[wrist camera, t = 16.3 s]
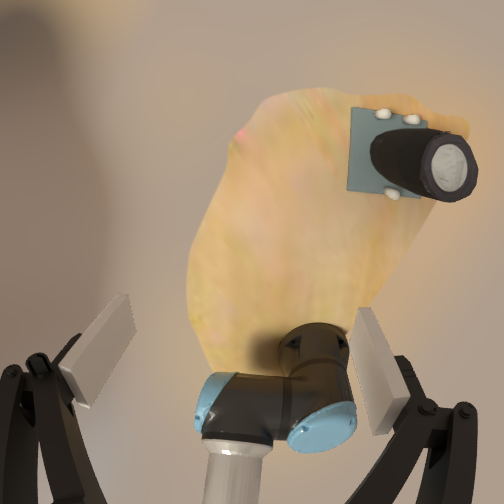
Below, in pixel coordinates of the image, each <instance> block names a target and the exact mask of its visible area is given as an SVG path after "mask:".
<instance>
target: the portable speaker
mask: <svg viewBox="0 0 504 504" xmlns="http://www.w3.org/2000/svg"><path fill="white" fill-rule="evenodd" d="M370 156H371V157H370V159H371V162H372V165H373V166H374V168H375V169H376V170H377V172H378V173H379V174H381V175H382V176H383V177H384V178H385V179H387V180H388V181H389V182H391V183H393V184H395V185H397V186H400V187H402V188H404V189H406V190H408V191H410V192H412V193H414V194H416V195H420V196H424V197H428V198H432V199H435V200H439V201H443V202H456V201H458V200H461V199H463V198H465V197H467V196H469V195H470V194H471V193H472V191H473V189H474V188H475V186H476V183H477V177H478V167H477V163H476V161H475V158H474V155H473V153H472V151H471V148H470V146H469V145H468V144H467V142H466V141H465V140H464V139H463V137H462V136H460V135H454V134H450V133H447V131H446V132H442V131H439V130H435V129H428V128H404V129H397V130H391V131H386V132H384V133H382V134H379V135H377V136H376V137H375V138H374V140H373V141H372V143H371V145H370Z"/></svg>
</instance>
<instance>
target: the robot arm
mask: <svg viewBox="0 0 504 504" xmlns="http://www.w3.org/2000/svg"><path fill="white" fill-rule="evenodd" d="M135 333H136V327H135V323H134V319H133V314H132V310H131V305H130V300H129V296H128V294H121V293H117V294H116V295H115V296H114V298H113V299H112V300H111V301H110V302H109V303H108V304H107V306H106V307H105V308H104V309H103V310H102V312H101V313H100V314H99V315H98V317H96V319H95V320H94V321H93V322H92V324H91V325H90V326H89V327H88V328H87V329H86V331H85V332H84V333H83V334H80V333H78V334H77V335H75V336H74V337H72V338H71V339H70V340H69V342H68V343H67V345H65V347H64V348H63V350H61V352H60V353H59V354H58V355H57V356H56V358H55V359H54V360H53V361H52V363H50V361H49V359H48V357H47V355H46V354H44V353H35V354H33V355H31V356H30V357H28V359H27V360H26V363H25V364H26V367H27V369H28V370H29V372H30V373H27V372H23V370H22V369H21V367H20V366H19V365H15V364H13V365H10V366H8V367H6V369H4V371H3V373H2V376H1V379H0V504H38V489H37V466H38V443H39V442H40V447H41V452H42V457H43V461H44V466H45V470H46V474H47V478H48V482H49V485H50V489H51V493H52V496H53V500H54V501H53V503H52V504H107V502H106V500H105V497H104V495H103V493H102V491H101V488H100V486H99V483H98V481H97V478H96V476H95V473H94V471H93V468H92V465H91V463H90V460H89V457H88V454H87V451H86V448H85V445H84V442H83V439H82V435H81V432H80V429H79V425H78V421H77V418H76V414H75V410H74V406H73V404H72V402H71V401H72V400H73V398H74V397H75V399H76V401H77V403H78V404H79V405H81V406H85V407H87V408H91V407H92V405H93V403H94V402H95V400H96V398H97V396H98V395H99V393H100V391H101V389H102V388H103V386H104V384H105V383H106V381H107V379H108V378H109V376H110V374H111V372H112V371H113V369H114V367H115V366H116V364H117V362H118V361H119V359H120V358H121V356H122V354H123V353H124V351H125V349H126V348H127V346H128V345H129V343H130V341H131V340H132V338H133V336H134V335H135ZM349 348H350V351H351V355H352V358H353V362H354V365H355V369H356V372H357V376H358V379H359V383H360V387H361V390H362V394H363V398H364V402H365V405H366V409H367V413H368V417H369V421H370V425H371V430H372V434H373V435H381V434H388V433H389V431H390V430H391V428H392V427H393V429H394V432H395V434H394V435H393V437H392V438H391V440H390V441H389V442H388V444H387V446H386V448H385V450H384V451H383V453H382V454H381V456H380V457H379V459H378V460H377V462H376V463H375V464H374V466H373V467H372V469H371V470H370V472H369V473H368V474H367V476H366V477H365V478H364V480H363V481H362V483H361V484H360V485H359V486H358V488H357V489H356V490H355V492H354V493H353V494H352V495H351V497H350V498H349V499H348V500H347V502H346V503H345V504H392V503H393V502H394V500H395V499H396V497H397V495H398V494H399V492H400V490H401V489H402V487H403V485H404V484H405V482H406V480H407V479H408V477H409V475H410V473H411V471H412V470H413V468H414V466H415V464H416V462H417V460H418V458H419V456H420V454H421V452H422V450H423V448H428V453H427V458H426V463H425V468H424V473H423V477H422V481H421V485H420V489H419V493H418V497H417V500H416V504H471V503H472V496H473V489H474V481H475V472H476V458H477V435H478V419H477V410H476V408H475V407H474V406H473V405H472V404H471V403H468V402H459V403H457V405H456V406H455V407H454V408H453V409H451V408H440V407H438V405H437V404H436V403H435V402H434V401H433V400H431V399H428V398H426V396H425V394H424V391H423V389H422V387H421V385H420V382H419V380H418V378H417V377H416V374H415V372H414V371H413V368H412V365H411V363H410V362H409V361H408V360H407V359H406V358H405V357H404V356H403V355H401V356H393V354H392V351H391V349H390V347H389V345H388V342H387V340H386V338H385V336H384V334H383V332H382V330H381V328H380V325H379V323H378V321H377V319H376V317H375V315H374V313H373V311H372V309H371V307H358V311H357V315H356V319H355V323H354V327H353V332H352V336H351V339H350V343H349V345H348V342H347V339H346V336H345V335H344V333H343V332H342V331H341V330H339V329H338V328H336V327H334V326H332V325H329V324H324V323H311V324H306V325H303V326H300V327H298V328H296V329H294V330H292V331H291V332H289V333H288V334H287V335H286V336H285V337H284V338H283V340H282V341H281V343H280V345H279V349H278V361H279V365H280V367H281V369H282V371H283V373H284V375H285V377H279V376H264V375H253V374H244V373H239V372H234V373H230V372H215V373H213V374H212V375H210V376H209V378H208V379H207V380H206V382H205V384H204V386H203V388H202V391H201V393H200V396H199V399H198V403H197V407H196V415H195V419H194V428H195V430H196V431H197V432H199V433H201V434H202V433H203V434H202V444H203V445H204V446H205V447H206V448H207V450H208V452H209V459H208V465H207V472H206V480H205V488H204V494H203V502H202V504H258V500H259V490H260V480H261V470H262V459H263V457H264V456H266V455H267V454H268V453H269V452H270V451H272V450H273V441H274V440H285V441H287V443H288V445H289V446H290V448H291V449H292V450H294V451H298V452H299V453H318V452H323V451H326V450H329V449H332V448H334V447H336V446H338V445H340V444H342V443H343V442H345V441H346V440H348V439H349V438H350V437H351V436H352V434H353V433H354V432H355V430H356V427H357V415H356V404H355V403H354V399H353V395H352V391H351V387H350V383H349V379H348V375H347V371H346V370H347V364H348V358H349Z"/></svg>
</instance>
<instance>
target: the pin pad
mask: <svg viewBox="0 0 504 504" xmlns="http://www.w3.org/2000/svg"><path fill="white" fill-rule="evenodd" d="M404 128H427V121H424V120H420V117H419V116H418V115H406V116H402V115H397V114H392V113H391V111H390V110H389V109H387V108H385V109H380V110H370V109H363V108H357V107H351V128H350V149H349V165H348V178H347V191H355V192H365V193H376V194H384V195H386V196H388V197H390V198H391V199H393V200H398V199H399V198H400V196H403V197H411V198H419V199H421V196H420V195H416V194H414V193H412V192H410V191H408V190H406V189H404V188H402V187H400V186H397V185H395V184H393V183H391V182H389V181H388V180H387V179H385V178H384V177H383V176H382V175H381V174H379V173H378V172H377V170H376V169H375V168H374V166H373V165H372V162H371V159H370V157H371V156H370V145H371V143H372V141H373V140H374V138H375V137H376V136H377V135H379V134H382V133H384V132H386V131H391V130H397V129H404Z"/></svg>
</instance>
